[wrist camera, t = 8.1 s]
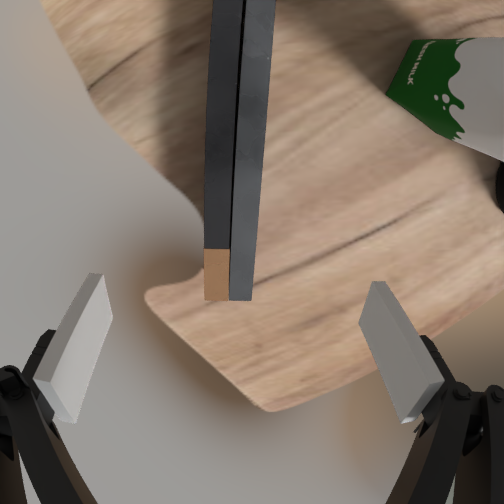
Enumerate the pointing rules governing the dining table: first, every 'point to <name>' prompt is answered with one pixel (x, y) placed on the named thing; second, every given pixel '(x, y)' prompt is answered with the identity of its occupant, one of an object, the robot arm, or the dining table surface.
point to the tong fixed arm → (249, 143)
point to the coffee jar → (500, 186)
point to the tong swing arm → (220, 145)
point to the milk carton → (456, 90)
